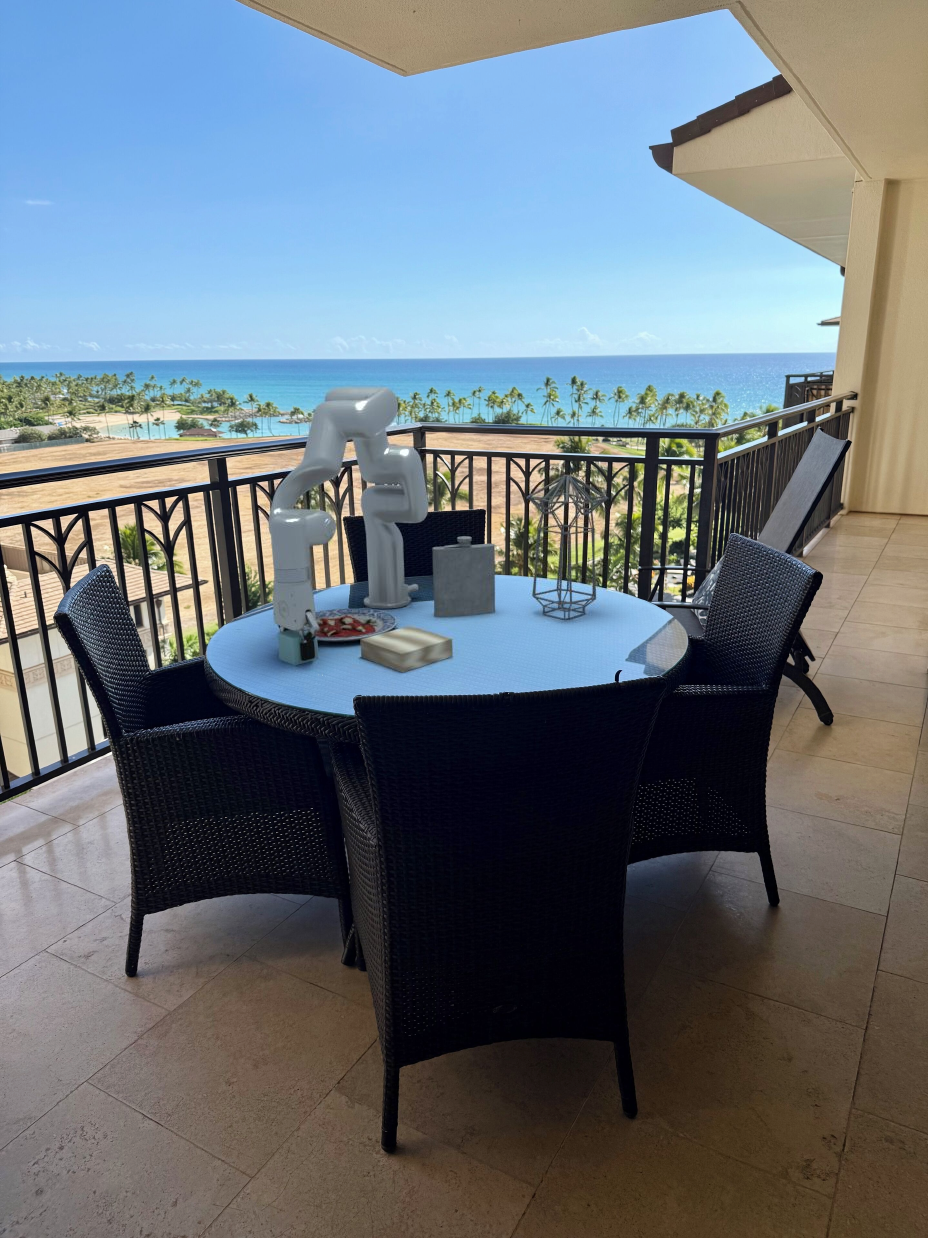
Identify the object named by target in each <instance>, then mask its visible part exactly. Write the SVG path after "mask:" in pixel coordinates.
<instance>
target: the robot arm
mask: <svg viewBox="0 0 928 1238" xmlns="http://www.w3.org/2000/svg"><path fill="white" fill-rule="evenodd" d="M398 405H399V404H398V398H397V396H396V394H395V392H394V391H393V390H392V389H391V388H389V387H385V386H344V387H343V386H342V387H341V386H340V387H339V386H338V387H334V388H332V389H329V390H328V391H327V393H326V394H325V397H324V402H321V403H319V404H318V405H317V406H315V407H316V408H315V409H314V411H313V415H312V420H311V423H310V427H309V431H308V435H307V440H306V445H305V449H304V453H303V458H302V461H301V462H300V463H299V464H298V465H297V466H296V467H295V468H294V469H293V470H291V471H290V472H289V473H288V474H287V476H286V477H285V478H284V479H283V481H282V482H281V483H280V484H279V485H278V487H277V489H276V490H275V493H274V495H273V499H272V502H271V507H270V512H269V516H268V517H269V518H268V532H269V534H270V540H271V541H270V542H271V552H272V553H271V554H272V566H273V574H274V575H273V576H274V577H273V578H274V580H273V586H272V587H273V588H272V611H273V613H272V614H273V622H274V623H275V624H276V625H277V626H278V628H279V631H278V633H279V632H283V631H287V630H293V631H299V634H300V638H301V641H302V643H300V651H301V660H302V661H306V660H310V659H313V658H315V646H314V641H315V639H316V638H315V637H316V636H317V633H318V631H319V629H320V628H319V626H318V624H317V622H316V612H317V611H316V603H315V598H314V592H313V591H314V590H313V587H312V582H311V581H312V574H311V571H312V570H311V560H310V547H316V546H322V545H325V544H327V543H328V544H329V542H330V541H331V540H332V539H333V538H334V536H335V533H336V528H337V527H336V526H337V524H336V521H335V519H334V517H333V515H332V514H331V513H329V512H327V511H325V510H320V509H305V508H303V509H302V508H295V505H296V504H297V503H298V502H297V501H298V500H299V499H300V498H302V496H303V495H304V494H305V493H307V492H308V491H309V490H312V489H314V488H315V487H318V486H320V485H322V484H324V483H326V482H328V481H330V480H332V479H334V478H336V477H337V476H339V475H340V473H341V471H342V465H343V461H344V456H345V452H346V446H347V442H348V441H350V440H352V443H353V446H354V450H355V451H354V452H355V456H356V461H357V464H358V470H359V473H360V477H361V478H362V479H363V481H365V482H366V483H368V484H374V485H371V486H368V487H366V488H365V489H364V490H363V491H362V493H361V497H360V508H361V512H362V517H363V521H364V526H365V527H364V529H365V534H366V535H365V537H366V554H367V555H366V557H367V573H368V574H367V575H368V579H367V580H368V595H369V596H367V597H365V598H364V599H363V605H365V606H366V607H368V608H372V609H381V610H386V609H390V610H391V609H397V608H402V607H405V606H407V605H409V604H410V603H412V602H411V601H412V597H410V596H409V594H410V593H414V592H417V591H419V584H417V583H413V584H410V585H408V584H406V583H405V566H404V565H405V564H404V540H403V539H404V538H403V536H402V533H401V531H400V529H399V527H398V526H397V524H395V523H405V524H407V523H408V524H412V523H413V524H417V523H421V522H422V521H424V520H425V519H426V517H427V516H428V511H429V500H428V499H429V498H428V494H427V493H428V492H427V486H426V482H425V476H424V469H423V462H422V460H421V457H420V455H419V453H418V451H417V450H416V449H415V448H414V447H412V446H407V445H392V444H390V442H389V440H388V435H387V429H386V428H388V427H389V426H390V425H391V424H392V423H393V422H394V420H395V419H396V417H397V413H398V411H399V408H398V407H399V406H398ZM304 625H305V626H307V627H305V628H303V627H304ZM306 630H308V633H307V634H306V636H305V634H304V631H306Z"/></svg>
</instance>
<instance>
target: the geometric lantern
mask: <svg viewBox="0 0 928 1238" xmlns="http://www.w3.org/2000/svg"><path fill="white" fill-rule="evenodd" d="M569 483H570V484H569ZM553 485H554V486H553ZM570 485H571V490H572V491H571V492H572V493H570V492H569V491H570V490H569V489H570V487H569V486H570ZM551 486H553V487H552V488H551V489H550V490H549V491H548V492H547V494H545V496H535V495H537V494H538V493H541V492H542V491H544V490H546V489H548V488H550V487H551ZM582 486H583V487H585V488H586V489H588V490H590V491H592V492H593V493H594V494H597V495H598V496H590V494H589V493H588V492H587V491H586V490H585V489H584V488H583V487H582ZM564 487H565V493H563V490H564ZM560 488H561V491H560V492H559V490H560ZM554 491H555V492H554ZM551 494H552V496H550V495H551ZM563 495H565V500H560V498H561V497H562V496H563ZM556 497H557V498H556ZM555 498H556V499H555ZM569 498H570V500H572V501H570V500H569ZM576 498H577V499H578V500H576ZM526 499H527V500H528V501H530V502H531V504H532V505H533V506H535V507H536V508H537V510H539V511H540V512H541V514H540V517H539V520H538V524H537V527H536V530H537V531H536V544H535V546H536V548H535V563H534V572H533V573H534V575H533V585H532V594H531V595H532V598H534V599H535V600H536V601H537V602H538V603H539V604H540V606H542V613H541V614H542V615H544V616H547V617H551V618H554V619H557V620H558V619H560V620H564V621H569V620H572V619H575V618H578V617H581V616H583V615H586V608H587V606H589V605H591V604H592V603H593V602H594V601H596V600H597V588H596V586H597V585H596V560H595V558H596V557H595V555H596V554H595V551H596V548H595V546H596V545H595V544H596V542H595V540H596V539H595V538H596V537H595V535H596V528H595V524H594V514H593V512H594V511H595V510H596V509H597V508H598V507H599V506H601V505H602V504H603V503H604V502H606V501H607V500H609V499H610V498H609V497H608V496H606V495H605V494H603V493H602V492H599V491H598V490H597V489H595V488H593V487H591V486H590V485H588V484H587V483H585V482H584V481H582V480H581V479H580V478H577V477H575V476H574V475H572V474H571V475H570V474H563V476H561V477H559V478H558V479H556V480H554V481H553V482H551V483H549V484H546V485H545V486H543V487H542V488H540V489H538V490H535V491H534V492H533V493H530V494H529V495H527V496H526ZM554 499H555V500H554ZM538 501H540V502H538ZM545 503H548V506H546V507H545ZM556 504H557V505H558V504H559V505H558V506H556ZM566 504H573V505H574V507H575V508H576V510H577V512H576V514H575V515H574V517H573V519H572V520H571V521H570V523H569V524H563V523H562V521H561V519H559V517H558V515H557V514H556V511H557V510H559V509H561V507H563V506H564V505H566ZM585 504H587V505H588V504H589V505H590V507H589V508H587V507H585ZM555 506H556V507H555ZM545 510H549V511H545ZM544 515H552V517H553V519H554V521H555V523H556V525H550V526H549V525H548V526H542V525H543V518H544ZM586 515H587V517H588V523H589V525H590V527H587V526H586V527H585V526H579V525H575V523H576V522H577V520H578V519H579V517H580V516H586ZM557 527H558V528H559V530H560V531H555V530H549V529H551V528H557ZM564 528H568V529H567V531H564ZM572 528H579V529H585V530H583V531H581V530H580V531H576V532H575V531H574V532H571V529H572ZM547 529H548V530H547ZM586 529H587V530H586ZM542 532H546V533H547V532H548V533H554V534H560V541H559V555H558V564H557V565H558V567H557V579H556V588H553V589H549V590H546V591H541V592H537V590H536V589H537V575H538V564H539V563H538V561H539V554H540V553H539V552H540V545H541V533H542ZM590 532H591V554H592V555H591V556H592V558H591V559H592V567H591V569H592V577H591V578H592V581H591V582H592V593H588V592H584V591H579V590H574V589H573V588H572V587H573V584H572V576H573V575H572V535H575V534H576V535H577V534H583V533H584V534H585V533H590ZM564 535H567V565H566V566H567V569H566V571H567V572H566V588H562V587H563V585H562V584H563V583H562V582H563V561H564V560H563V559H564V558H563V557H564V556H563V555H564ZM554 592H556V593H557V598H558V600H557V601H556V600H552V599H549V598H544V597H540V595H544V594H549V593H554ZM562 592H565V594H564V596H563V599H562ZM568 593H569V601H566V597H567V594H568ZM573 593H575V594H579V595H584V596H589V597H590V598H589V597H588V598H584V599H583V598H582V599H578V600H573ZM541 601H545V602H548V603H547V604H546V603H545V604H543V603H542V602H541ZM582 602H585V603H584V604H583V603H582ZM554 604H556V605H557V607H553V606H551V605H554ZM565 605H569V606H568V607H564V606H565ZM572 605H575V606H579V607H574V608H572ZM547 608H548V609H550V610H546V609H547ZM580 609H582V610H580ZM553 611H560V612H563V617H559V616H556V615H552V614H548V613H550V612H553ZM571 611H573V612H576V611H577V613H580V614H577V615H575V616H571V615H570V614H571ZM567 612H568V613H567ZM566 613H567V614H568V615H567V616H568V617H567V618H566Z"/></svg>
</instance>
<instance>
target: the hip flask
mask: <svg viewBox="0 0 928 1238" xmlns="http://www.w3.org/2000/svg"><path fill="white" fill-rule="evenodd" d="M456 541H457V544H450V545H444V546H434V547H432V573H433V574H432V575H433V578H432V579H433V580H432V582H433V584H432V585H433V609H434V612H433V613H434V614H433V615H434V616H433V617H435V618H458V617H460V618H461V617H471V616H472V617H473V616H480V615H490V614H494V613H495V612H496V585H495V584H496V579H495V578H496V576H495V575H496V569H495V568H496V558H495V557H496V556H495V551H496V550H495V549H496V547H495V543H483V544H472V543H471V542H472V537H471V536H465V535H463V536H458V537H457V538H456Z"/></svg>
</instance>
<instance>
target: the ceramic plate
mask: <svg viewBox="0 0 928 1238" xmlns="http://www.w3.org/2000/svg"><path fill="white" fill-rule="evenodd" d="M315 612H316V622H317V624H318V626H319V628H320V629H319V631H318V633H317V641H323V642H331V643H334V642H335V643H336V642H337V643H338V642H340V643H341V642H353V641H358V640H361V639H364V638H368V637H371V636H375V635H379V634H382V633H386V632H390V631H392V630H393V628H395V627H396V625H397V624H398V619H397V618H396V616H394V615H393V614H391V613H390V612H386V611H382V610H377V609H369V608H335V609H327V610H320V611H315ZM305 627H307V626H305V625H304V627H303V628H305Z"/></svg>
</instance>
